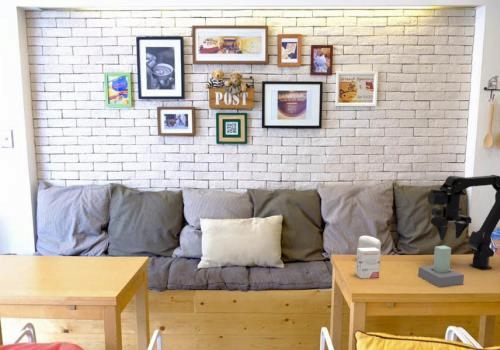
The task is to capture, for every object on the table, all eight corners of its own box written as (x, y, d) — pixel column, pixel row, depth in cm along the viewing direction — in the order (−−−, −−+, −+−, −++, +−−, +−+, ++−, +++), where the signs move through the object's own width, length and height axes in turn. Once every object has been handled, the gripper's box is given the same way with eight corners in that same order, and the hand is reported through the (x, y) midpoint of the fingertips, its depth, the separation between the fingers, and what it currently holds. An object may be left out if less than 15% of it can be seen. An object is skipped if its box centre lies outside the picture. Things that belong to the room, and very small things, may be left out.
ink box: (374, 273, 175) (376, 246, 173) (379, 277, 170) (381, 250, 168) (355, 274, 173) (356, 247, 172) (359, 278, 169) (361, 251, 167)
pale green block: (442, 275, 171) (444, 245, 169) (448, 278, 168) (451, 248, 166) (432, 276, 170) (435, 246, 168) (438, 279, 166) (441, 249, 164)
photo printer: (380, 264, 186) (382, 238, 184) (376, 266, 183) (378, 240, 181) (360, 258, 193) (362, 233, 191) (355, 260, 190) (357, 235, 188)
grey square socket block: (441, 273, 176) (441, 264, 176) (463, 284, 165) (464, 274, 164) (418, 275, 173) (418, 266, 172) (439, 287, 161) (439, 277, 161)
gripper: (452, 200, 191) (449, 232, 193) (422, 202, 183) (419, 236, 186) (473, 204, 181) (470, 239, 183) (442, 207, 173) (439, 243, 176)
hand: (449, 239), depth 182 cm, fingers open, 9 cm apart
